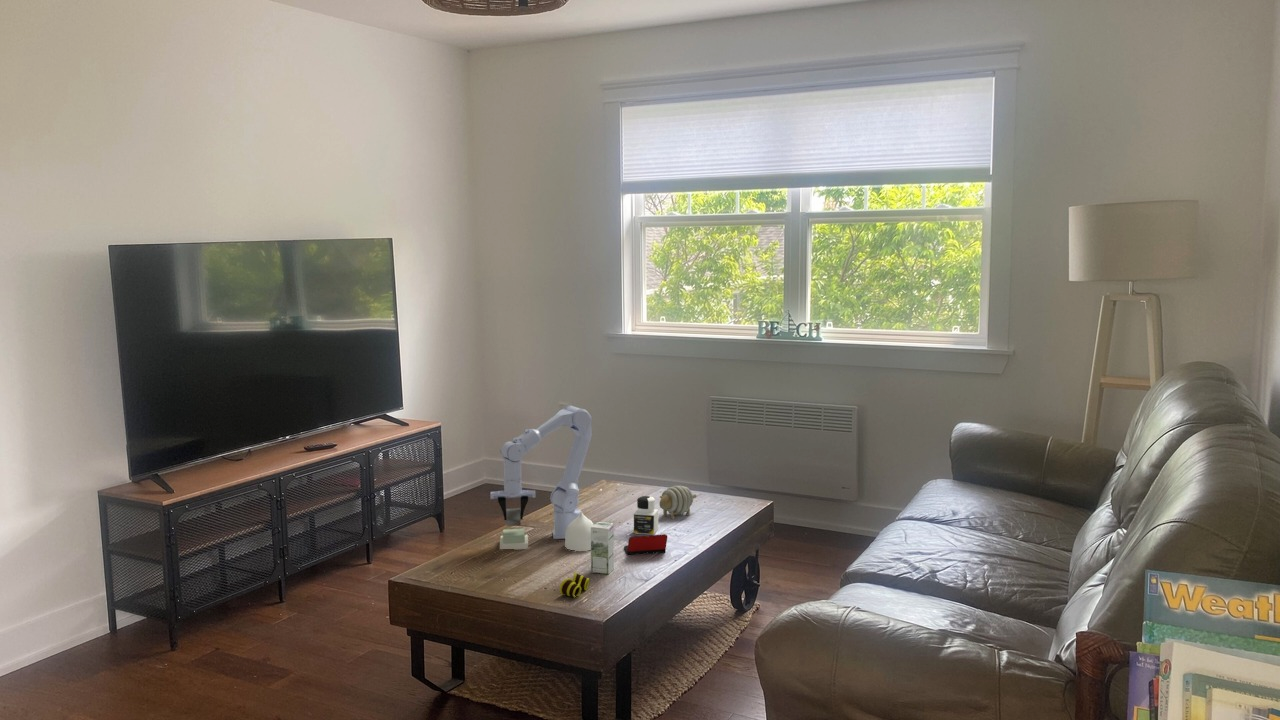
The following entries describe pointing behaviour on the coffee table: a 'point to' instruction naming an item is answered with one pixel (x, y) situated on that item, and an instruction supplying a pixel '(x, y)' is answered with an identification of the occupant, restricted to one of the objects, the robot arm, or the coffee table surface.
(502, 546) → the tower base slab
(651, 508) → the medicine bottle
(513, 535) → the tower top slab
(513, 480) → the robot arm
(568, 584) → the opera glasses
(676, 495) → the toy sheep
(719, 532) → the coffee table surface
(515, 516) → the slate cube
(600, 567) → the syrup box
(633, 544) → the handheld game console
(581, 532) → the teardrop
